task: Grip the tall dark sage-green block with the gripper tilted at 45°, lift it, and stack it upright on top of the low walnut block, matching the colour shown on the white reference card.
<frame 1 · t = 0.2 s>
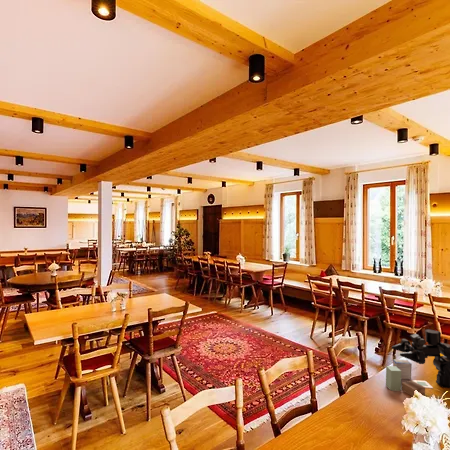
hand: (395, 350, 165), 17 cm above the table, tool horizontal, fingers open, 9 cm apart
medicine box: (401, 377, 171), on the table
walnut base block: (413, 393, 155), on the table
sage block: (393, 388, 159), on the table
reference card: (422, 384, 163), on the table
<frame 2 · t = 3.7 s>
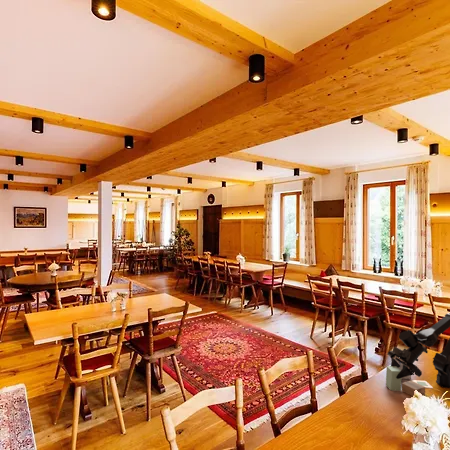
hand: (392, 375, 158), 7 cm above the table, tool tilted 45°, fingers closed on sage block, 5 cm apart
sage block: (393, 387, 159), on the table, touching gripper
everything else where it was.
when the fingers open (12 cm above the table, at t = 6.7 s): sage block drops 1 cm, point 4 cm above the table.
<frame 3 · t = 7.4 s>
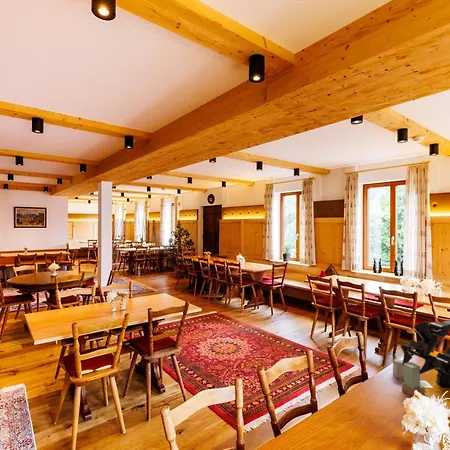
hand: (411, 369, 154), 12 cm above the table, tool tilted 45°, fingers open, 9 cm apart
sage block: (411, 384, 155), point 4 cm above the table
everything else where it was.
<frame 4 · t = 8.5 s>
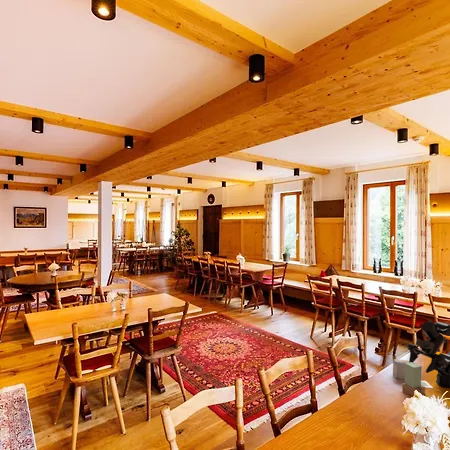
hand: (417, 368, 156), 12 cm above the table, tool tilted 45°, fingers open, 9 cm apart
walnut base block: (413, 393, 155), on the table, touching sage block
sage block: (412, 385, 155), point 4 cm above the table, touching walnut base block
everything else where it was.
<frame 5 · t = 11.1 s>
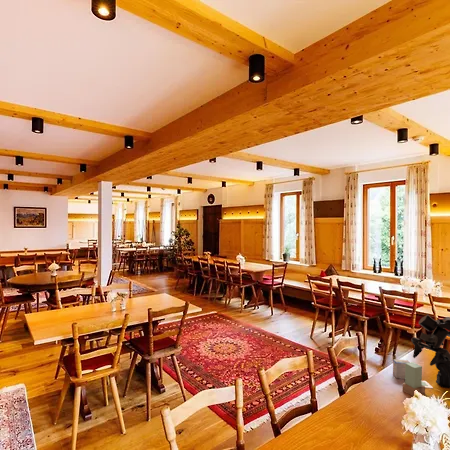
hand: (421, 361, 160), 14 cm above the table, tool tilted 45°, fingers open, 9 cm apart
nothing on the table moved.
at the end: sage block 0.3 cm off-centre on the walnut base block, point 4.1 cm above the walnut base block's base; sage block tilted 2°; the gripper is holding nothing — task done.
